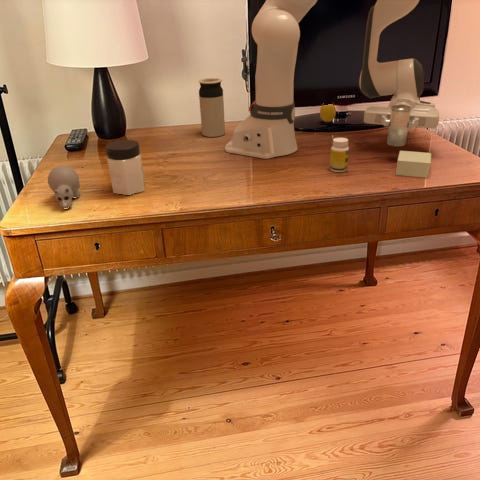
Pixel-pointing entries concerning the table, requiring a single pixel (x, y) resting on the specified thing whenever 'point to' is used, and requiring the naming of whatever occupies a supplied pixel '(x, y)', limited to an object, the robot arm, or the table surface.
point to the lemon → (327, 112)
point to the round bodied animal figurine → (64, 185)
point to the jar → (125, 167)
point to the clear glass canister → (398, 125)
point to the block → (413, 164)
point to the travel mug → (211, 107)
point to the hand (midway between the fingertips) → (398, 124)
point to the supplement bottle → (339, 155)
